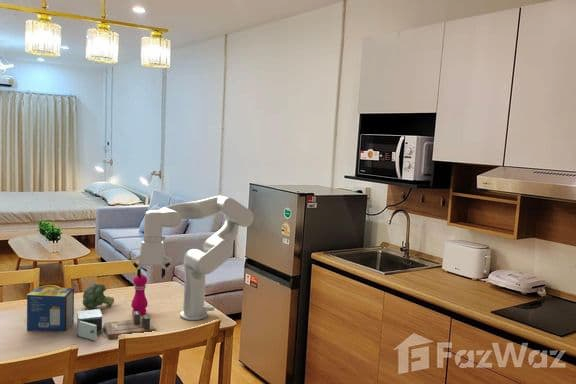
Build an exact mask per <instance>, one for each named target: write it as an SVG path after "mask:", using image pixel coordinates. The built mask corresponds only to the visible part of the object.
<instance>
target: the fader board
mask: <svg viewBox="0 0 576 384" xmlns="http://www.w3.org/2000/svg"><path fill="white" fill-rule="evenodd" d="M103 327H104V331H105V333H106V337H107V339H108V340H113V339H119V338H118V336H119V335H121V334H132V333H144V332H152V331H157V329H156V326H155V325H154V323H153V321H152V320H151V317H150V316H149V315H148V314H145V315H142V318H140V324H138V325H134V323H133V319H126V320H125V319H124V320H117V321H116V320H115V321H109V322H108V321H107V322H104V326H103Z"/></svg>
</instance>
